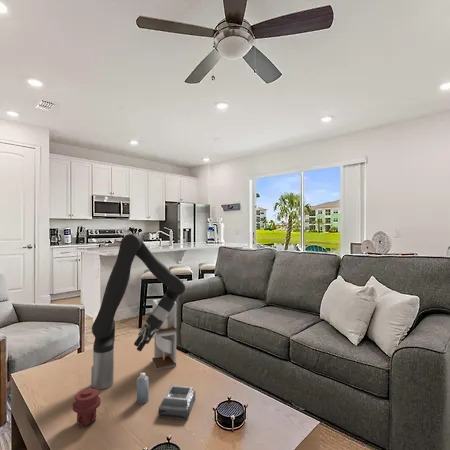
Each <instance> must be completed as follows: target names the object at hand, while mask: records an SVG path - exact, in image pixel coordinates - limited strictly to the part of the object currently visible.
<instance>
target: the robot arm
mask: <svg viewBox="0 0 450 450" xmlns="http://www.w3.org/2000/svg"><path fill="white" fill-rule="evenodd" d="M135 257H137V258H139V259H140V260H141V262H142V263H143V264H144V265H145V266H146V268H147V269H148V270H149V272H150V273H151V274H152V276H154V277H155V278H156V279H157V280H158V281H159V282H160V283H162V284H164V285H165V287H167V288H166V291H165V292H164V294H163V296H162V297H161V298H160V299H161V300H160V301H159V303H158V304H157V306H156V307H155V308H154V309H153V308H152V311H151V312H150V313H149V315H148V317H147V318H146V320H145V324H144V325H143V327H142V328H141V329H140V331H139V332H138V336H137V338H136V340H135V341H134V343H133V345H134V346H135V347H137V348H136V350H137V351H138V352H142V351H143V349H144V347H145V346H146V345H148V344H149V343H150V342H151V340H152V338H153V337H154V336H155V331H154V329H157V330H158V329H159V328H160V327H161V325H162V324H163V322H164V321H165V319H166V318H167V316H168V314H169V312H170V311H171V309H172V308H173V306H174V304H175V302H176V300H177V299H178V298H179V296H181V295H182V294H184V293H185V291H186V286H185V283H184V281H182V280H181V279H180V278H179V277H178V276H176V275H175V274H174V273H173V272H172V271H171V270H170V269H169V268H168V267H167V266H166V265H165V264H164V263H163V262H162V261H161V260H160V259H158V258H157V257H156V255H155V254H154V253H152V251H151V250H150V249H149V248H148V247H147V245H146V244H145V243H144V242H143V239H142V238H141V237H140V236H139V235H138V234H136V233H129V234H125V235H124V236H123V237H122V239H121V240H120V243H119V248H118V253H117V258H116V260H115V263H114V265H113V268H112V270H111V273H110V275H109V277H108V279H107V283H106V286H105V289H104V293H103V296H102V301H101V305H100V308H99V310H98V313H97V316H96V317H95V320H94V322H93V323H92V326H91V333H92V335H93V336H94V343H93V348H92V349H93V351H92V353H93V354H92V355H93V357H92V358H93V361H92V362H93V364H92V366H91V370H90V371H91V372H90V373H91V374H90V375H91V378H90V379H91V380H90V381H91V382H90V383H91V387H90V388H93V389H96V390H106V389H107V388H110V387H112V386H113V385H114V380H115V379H114V378H115V377H114V374H115V373H114V371H115V370H114V367H115V366H114V365H115V364H114V363H115V362H114V360H115V359H114V357H115V356H114V353H115V348H114V347H115V337H116V336H115V335H116V321H115V316H116V312H117V310H118V307H119V306H120V303H121V302H122V300H123V298H124V296H125V293H126V290H127V288H128V285H129V281H130V276H131V269H132V264H133V262H134V259H135Z"/></svg>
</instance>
